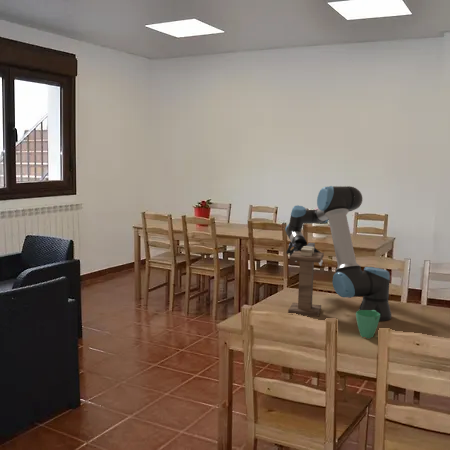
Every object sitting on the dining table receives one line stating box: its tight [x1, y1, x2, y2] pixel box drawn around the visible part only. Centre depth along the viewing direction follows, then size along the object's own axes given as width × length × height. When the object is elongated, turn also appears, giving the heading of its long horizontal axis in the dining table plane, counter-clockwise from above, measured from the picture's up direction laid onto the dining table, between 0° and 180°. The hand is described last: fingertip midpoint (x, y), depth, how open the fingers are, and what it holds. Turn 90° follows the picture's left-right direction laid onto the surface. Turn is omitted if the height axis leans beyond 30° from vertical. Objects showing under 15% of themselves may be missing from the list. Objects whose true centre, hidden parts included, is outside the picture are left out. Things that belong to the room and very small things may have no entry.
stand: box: [287, 251, 325, 318], centre depth 264 cm, size 16×14×28 cm
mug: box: [355, 309, 380, 339], centre depth 232 cm, size 15×10×10 cm
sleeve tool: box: [301, 242, 316, 256], centre depth 269 cm, size 22×5×3 cm, turn 164°
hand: (309, 261), depth 279 cm, fingers open, 13 cm apart
